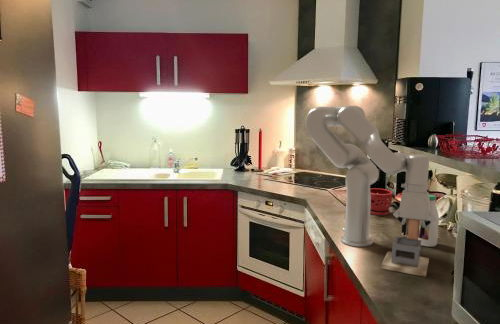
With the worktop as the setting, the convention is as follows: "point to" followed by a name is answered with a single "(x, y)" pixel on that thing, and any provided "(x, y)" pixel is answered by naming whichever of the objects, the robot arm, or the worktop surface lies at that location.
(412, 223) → the peg
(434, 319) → the worktop surface
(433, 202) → the milk bottle
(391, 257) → the collar stand
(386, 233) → the worktop surface
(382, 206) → the plant pot
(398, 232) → the worktop surface
